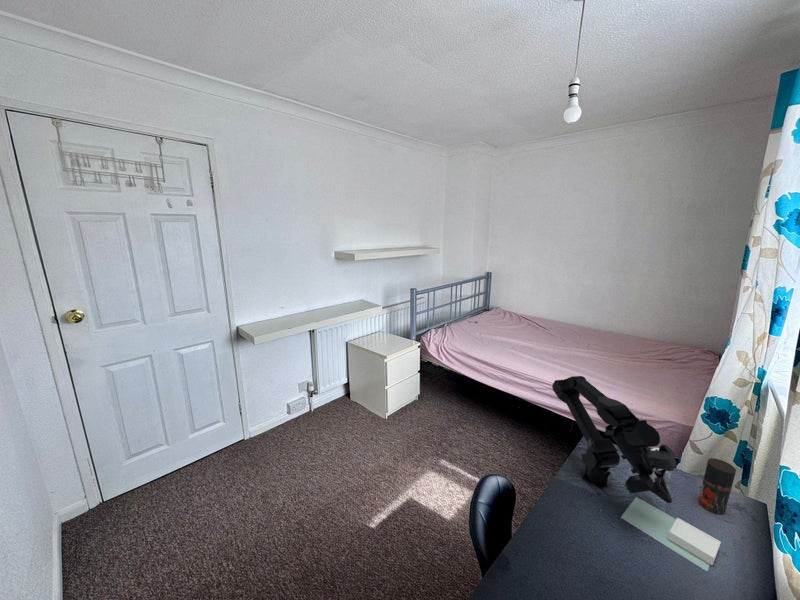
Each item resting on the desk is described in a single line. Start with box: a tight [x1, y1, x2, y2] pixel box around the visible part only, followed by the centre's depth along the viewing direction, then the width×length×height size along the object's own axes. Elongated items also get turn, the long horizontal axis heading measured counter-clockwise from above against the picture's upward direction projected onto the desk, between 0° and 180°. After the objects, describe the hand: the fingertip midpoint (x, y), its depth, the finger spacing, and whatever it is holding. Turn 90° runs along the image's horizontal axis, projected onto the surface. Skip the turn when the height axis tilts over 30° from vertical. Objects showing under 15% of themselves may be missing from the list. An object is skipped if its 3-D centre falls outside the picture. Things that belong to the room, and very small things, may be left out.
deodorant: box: [697, 457, 737, 516], centre depth 96 cm, size 6×6×15 cm
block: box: [668, 517, 722, 566], centre depth 86 cm, size 3×7×9 cm
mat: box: [620, 496, 711, 572], centre depth 91 cm, size 19×12×1 cm, turn 37°
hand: (670, 502), depth 90 cm, fingers closed
